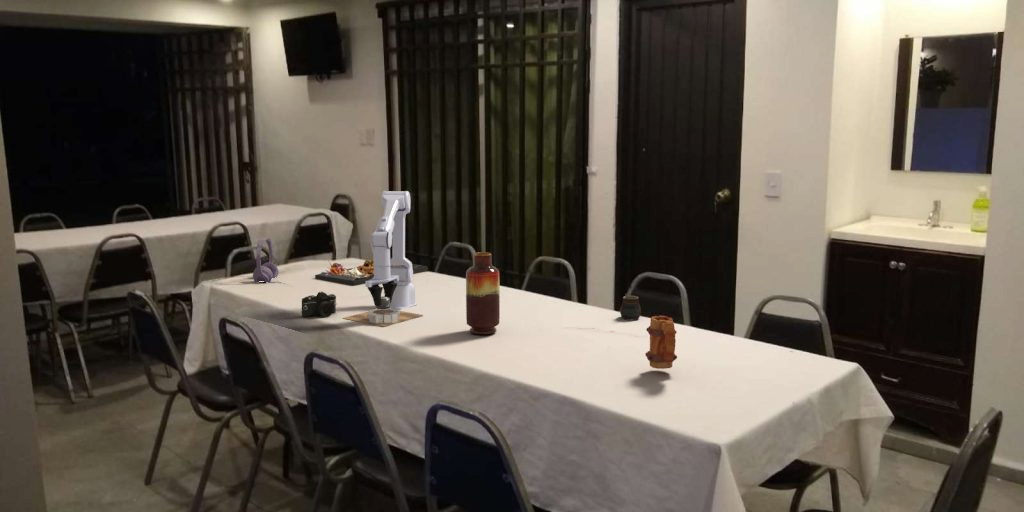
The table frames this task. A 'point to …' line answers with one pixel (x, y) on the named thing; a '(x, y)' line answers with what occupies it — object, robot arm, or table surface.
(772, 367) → the table surface
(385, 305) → the cap
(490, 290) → the vase
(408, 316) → the board
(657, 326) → the mug
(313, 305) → the film camera
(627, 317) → the mate gourd
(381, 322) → the grey faceted ring
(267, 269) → the headphones
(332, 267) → the food platter
